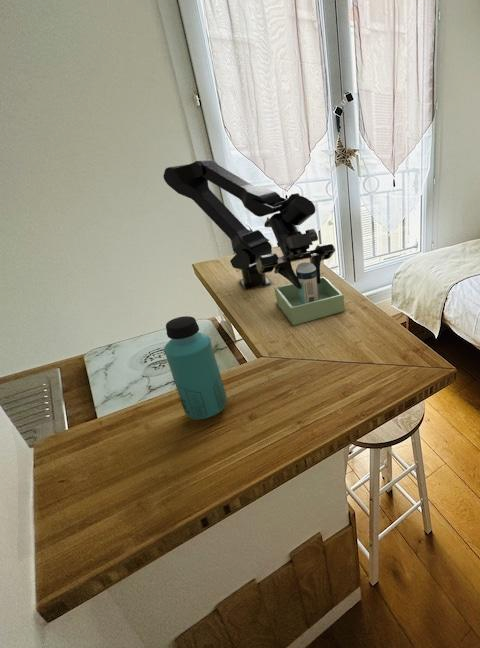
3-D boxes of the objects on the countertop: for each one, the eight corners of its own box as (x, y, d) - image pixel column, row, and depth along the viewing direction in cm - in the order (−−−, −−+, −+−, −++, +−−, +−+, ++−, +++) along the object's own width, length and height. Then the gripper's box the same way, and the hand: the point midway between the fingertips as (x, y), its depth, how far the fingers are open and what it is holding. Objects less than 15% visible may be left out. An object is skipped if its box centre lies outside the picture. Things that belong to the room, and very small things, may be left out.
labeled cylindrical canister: (322, 302, 110) (319, 263, 104) (314, 310, 105) (309, 270, 100) (306, 300, 110) (301, 260, 105) (296, 308, 106) (291, 267, 100)
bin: (276, 303, 108) (274, 287, 106) (325, 291, 116) (324, 276, 114) (293, 325, 99) (290, 308, 97) (344, 310, 108) (343, 294, 106)
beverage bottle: (238, 407, 74) (215, 316, 65) (203, 432, 68) (174, 336, 60) (212, 396, 76) (187, 306, 67) (176, 420, 70) (143, 325, 61)
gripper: (253, 225, 93) (278, 284, 92) (329, 214, 106) (352, 265, 105) (246, 246, 101) (269, 300, 100) (318, 233, 114) (340, 281, 113)
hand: (310, 286), depth 104 cm, fingers closed on labeled cylindrical canister, 5 cm apart
